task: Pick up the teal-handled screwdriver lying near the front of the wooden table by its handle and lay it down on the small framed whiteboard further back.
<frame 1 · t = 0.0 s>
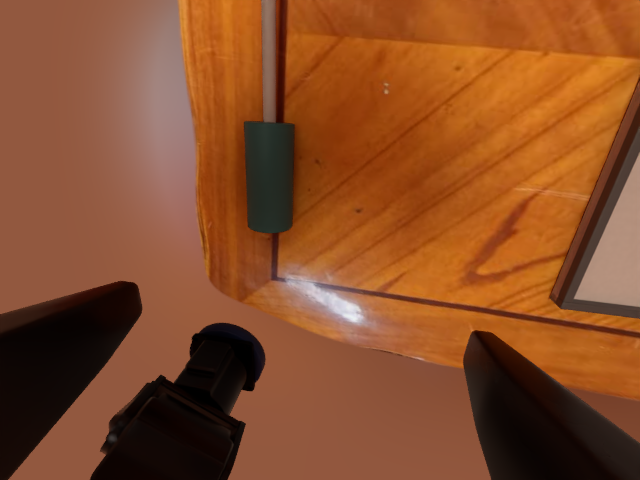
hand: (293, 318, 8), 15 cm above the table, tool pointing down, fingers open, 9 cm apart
screwdriver: (276, 122, 21), on the table
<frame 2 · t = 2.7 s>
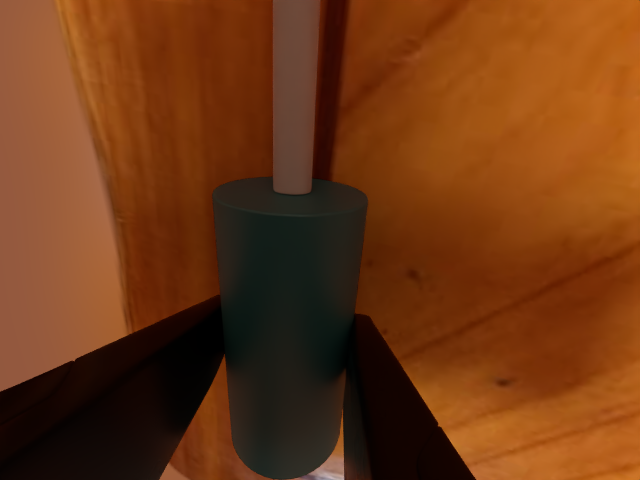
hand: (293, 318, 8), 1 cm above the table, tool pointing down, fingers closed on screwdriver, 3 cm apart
screwdriver: (312, 178, 8), on the table, tilted 5°, touching gripper
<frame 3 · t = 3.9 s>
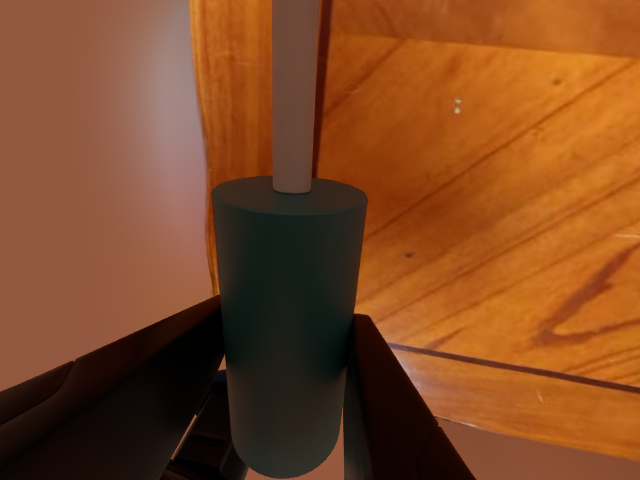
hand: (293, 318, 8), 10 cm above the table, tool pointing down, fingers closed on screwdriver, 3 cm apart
screwdriver: (312, 177, 8), point 9 cm above the table, tilted 6°, touching gripper
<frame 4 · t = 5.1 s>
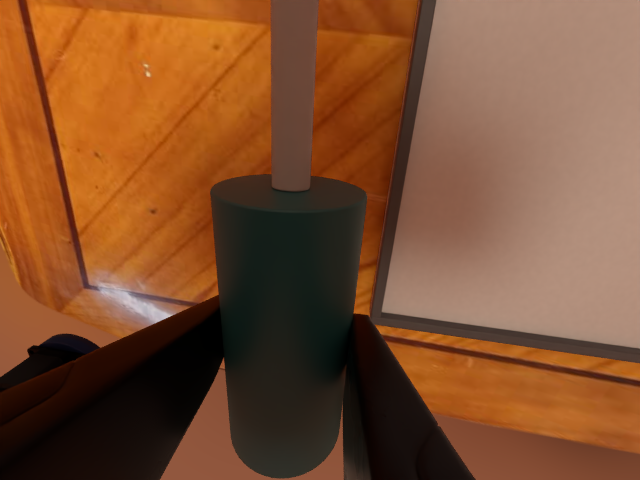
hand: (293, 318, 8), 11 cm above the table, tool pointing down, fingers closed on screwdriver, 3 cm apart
whiteboard: (602, 153, 15), on the table
screwdriver: (311, 175, 8), point 9 cm above the table, tilted 6°, touching gripper
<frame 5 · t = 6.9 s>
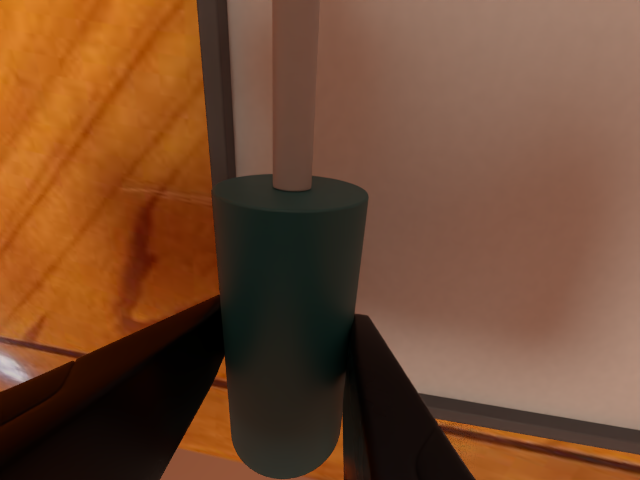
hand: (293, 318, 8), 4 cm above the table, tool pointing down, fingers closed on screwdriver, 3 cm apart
whiteboard: (544, 128, 9), on the table
screwdriver: (312, 175, 8), point 3 cm above the table, tilted 5°, touching gripper
when the fingers open (2 cm above the table, at t = 7.8 s): screwdriver stays where it is, resting on whiteboard.
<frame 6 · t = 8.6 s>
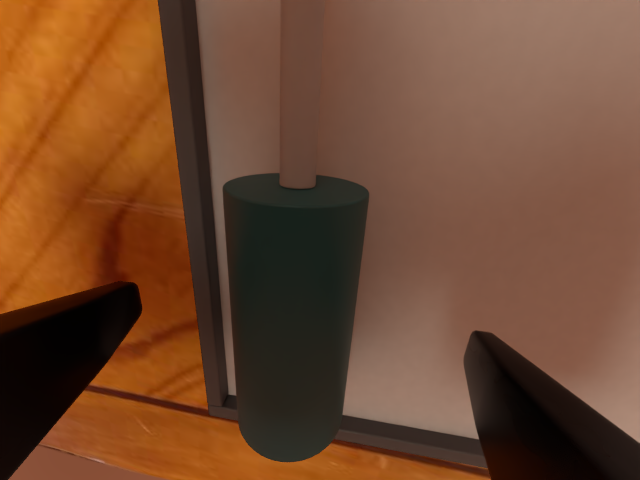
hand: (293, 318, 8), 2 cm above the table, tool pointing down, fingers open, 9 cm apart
whiteboard: (571, 132, 8), on the table
screwdriver: (313, 174, 8), point 1 cm above the table, touching whiteboard
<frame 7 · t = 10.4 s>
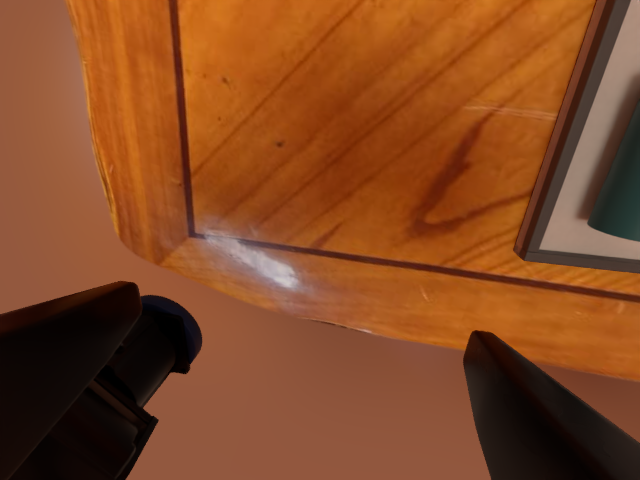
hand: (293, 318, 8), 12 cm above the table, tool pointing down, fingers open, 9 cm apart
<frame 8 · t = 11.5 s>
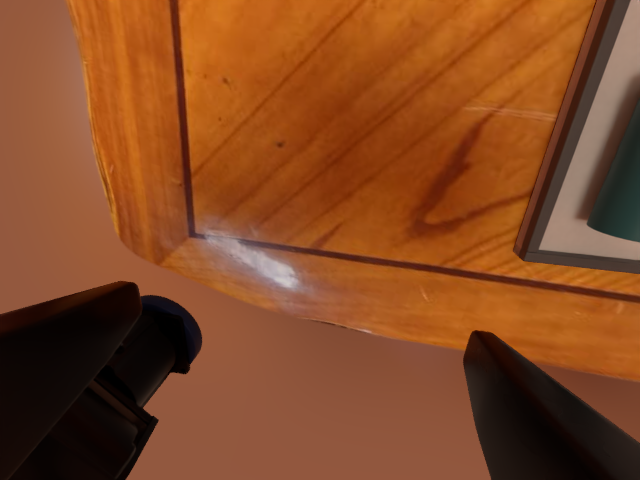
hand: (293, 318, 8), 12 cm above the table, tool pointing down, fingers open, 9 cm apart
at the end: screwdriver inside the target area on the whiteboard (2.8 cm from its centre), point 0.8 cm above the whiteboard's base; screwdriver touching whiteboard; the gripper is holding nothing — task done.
